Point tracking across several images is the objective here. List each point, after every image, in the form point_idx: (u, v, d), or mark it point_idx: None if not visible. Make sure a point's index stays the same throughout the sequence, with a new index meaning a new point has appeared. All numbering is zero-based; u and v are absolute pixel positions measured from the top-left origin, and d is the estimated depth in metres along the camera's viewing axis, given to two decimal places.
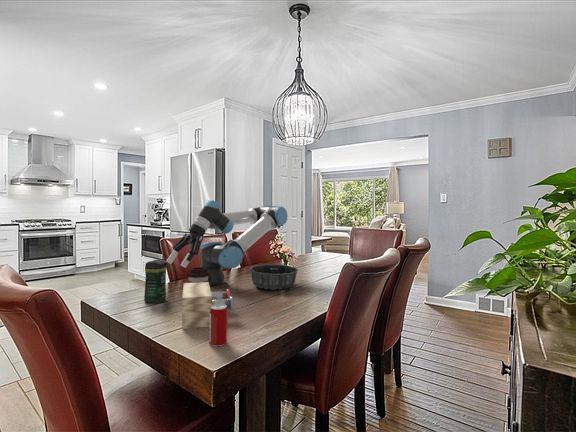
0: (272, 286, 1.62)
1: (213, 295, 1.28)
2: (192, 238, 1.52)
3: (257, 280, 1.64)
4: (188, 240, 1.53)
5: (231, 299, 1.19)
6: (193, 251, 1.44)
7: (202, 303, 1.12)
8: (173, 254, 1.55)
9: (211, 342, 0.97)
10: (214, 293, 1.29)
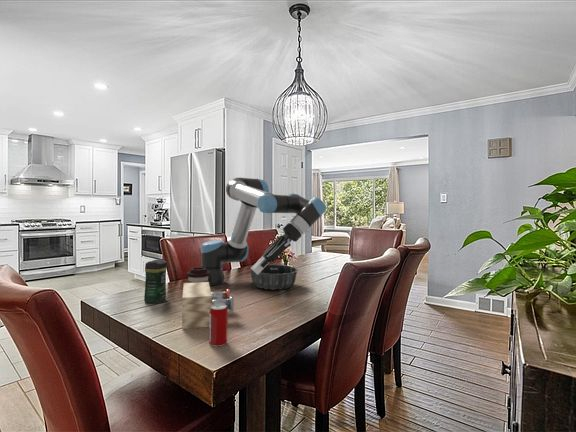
0: (272, 286, 1.62)
1: (213, 295, 1.28)
2: None
3: (257, 280, 1.64)
4: None
5: (231, 299, 1.19)
6: None
7: (202, 303, 1.12)
8: None
9: (211, 342, 0.97)
10: (214, 293, 1.29)
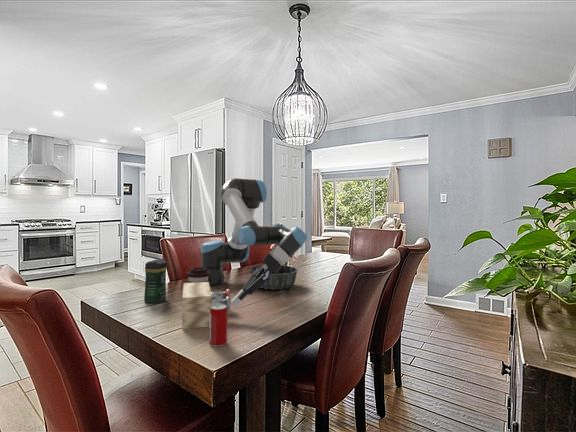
0: (272, 286, 1.62)
1: (213, 295, 1.28)
2: None
3: None
4: None
5: (228, 299, 1.19)
6: None
7: (202, 303, 1.12)
8: None
9: (211, 342, 0.97)
10: (214, 293, 1.29)
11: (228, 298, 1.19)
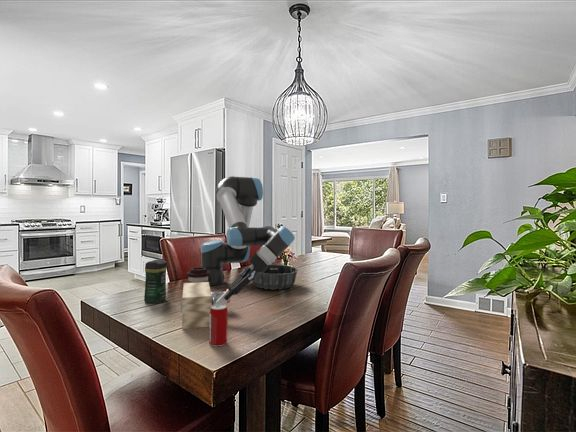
0: (272, 286, 1.62)
1: (213, 295, 1.28)
2: None
3: (257, 280, 1.64)
4: None
5: (213, 300, 1.17)
6: None
7: (202, 303, 1.12)
8: None
9: (211, 342, 0.97)
10: (214, 293, 1.29)
11: (213, 299, 1.18)
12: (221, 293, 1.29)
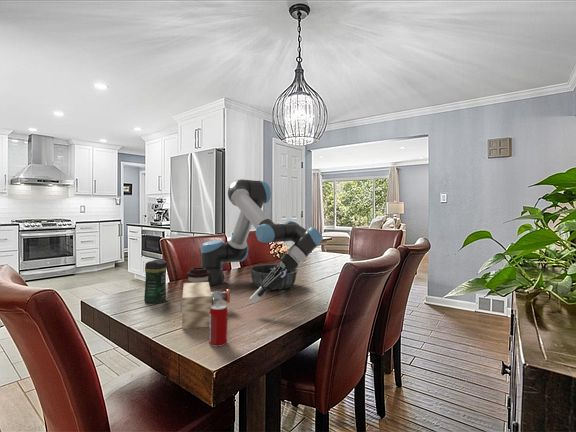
0: None
1: (213, 295, 1.28)
2: None
3: (257, 280, 1.64)
4: None
5: (213, 300, 1.17)
6: None
7: (202, 303, 1.12)
8: None
9: (211, 342, 0.97)
10: (214, 293, 1.29)
11: (213, 299, 1.17)
12: (221, 293, 1.29)
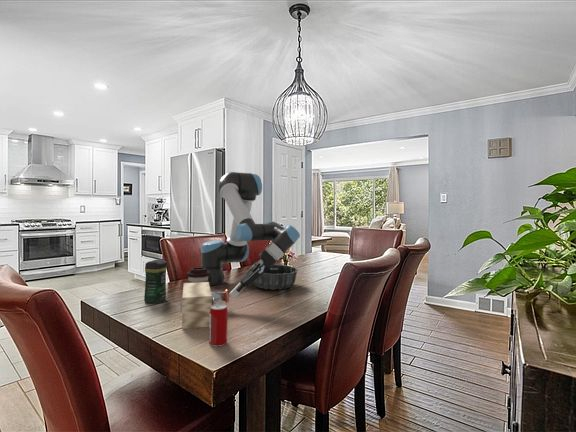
0: (272, 286, 1.62)
1: (212, 295, 1.28)
2: None
3: (257, 280, 1.64)
4: None
5: (213, 300, 1.17)
6: None
7: (202, 303, 1.12)
8: None
9: (211, 342, 0.97)
10: (213, 293, 1.28)
11: (213, 299, 1.17)
12: (220, 293, 1.29)
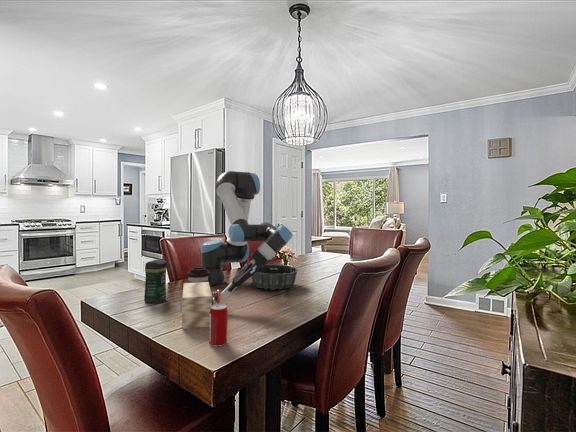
0: (272, 286, 1.62)
1: None
2: None
3: (257, 280, 1.64)
4: None
5: (213, 300, 1.17)
6: None
7: (202, 303, 1.12)
8: None
9: (211, 342, 0.97)
10: None
11: (213, 299, 1.17)
12: None
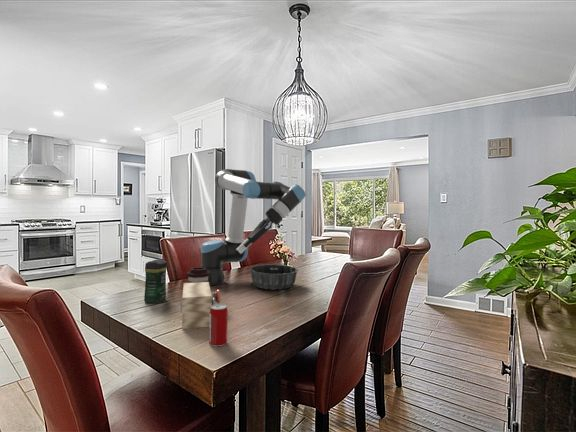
0: (272, 286, 1.62)
1: None
2: None
3: (257, 280, 1.64)
4: None
5: (213, 300, 1.17)
6: None
7: (202, 303, 1.12)
8: None
9: (211, 342, 0.97)
10: None
11: (213, 299, 1.17)
12: None
